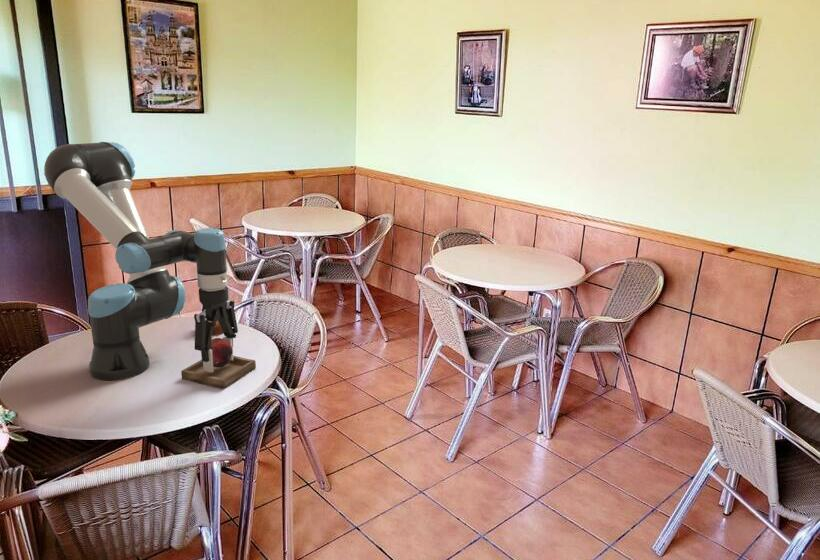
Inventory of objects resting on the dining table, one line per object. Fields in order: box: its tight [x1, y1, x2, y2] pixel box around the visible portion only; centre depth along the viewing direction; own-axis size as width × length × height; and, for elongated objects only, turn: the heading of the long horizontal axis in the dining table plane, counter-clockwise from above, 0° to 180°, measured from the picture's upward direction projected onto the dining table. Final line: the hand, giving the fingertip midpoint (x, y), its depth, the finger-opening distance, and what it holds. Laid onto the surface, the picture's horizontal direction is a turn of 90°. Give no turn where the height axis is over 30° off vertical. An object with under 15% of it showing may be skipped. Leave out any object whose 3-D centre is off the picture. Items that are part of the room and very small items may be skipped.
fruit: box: [205, 337, 234, 368], centre depth 165 cm, size 8×8×8 cm
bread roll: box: [208, 320, 224, 337], centre depth 196 cm, size 10×10×8 cm
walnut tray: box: [180, 355, 257, 390], centre depth 167 cm, size 14×14×2 cm
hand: (218, 365), depth 166 cm, fingers closed on fruit, 8 cm apart
